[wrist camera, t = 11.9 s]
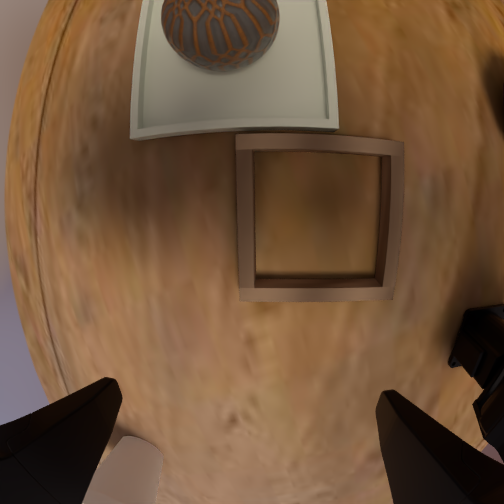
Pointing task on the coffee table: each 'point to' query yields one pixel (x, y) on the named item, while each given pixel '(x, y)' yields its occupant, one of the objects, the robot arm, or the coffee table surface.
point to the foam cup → (127, 474)
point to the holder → (320, 288)
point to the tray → (237, 81)
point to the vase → (220, 31)
